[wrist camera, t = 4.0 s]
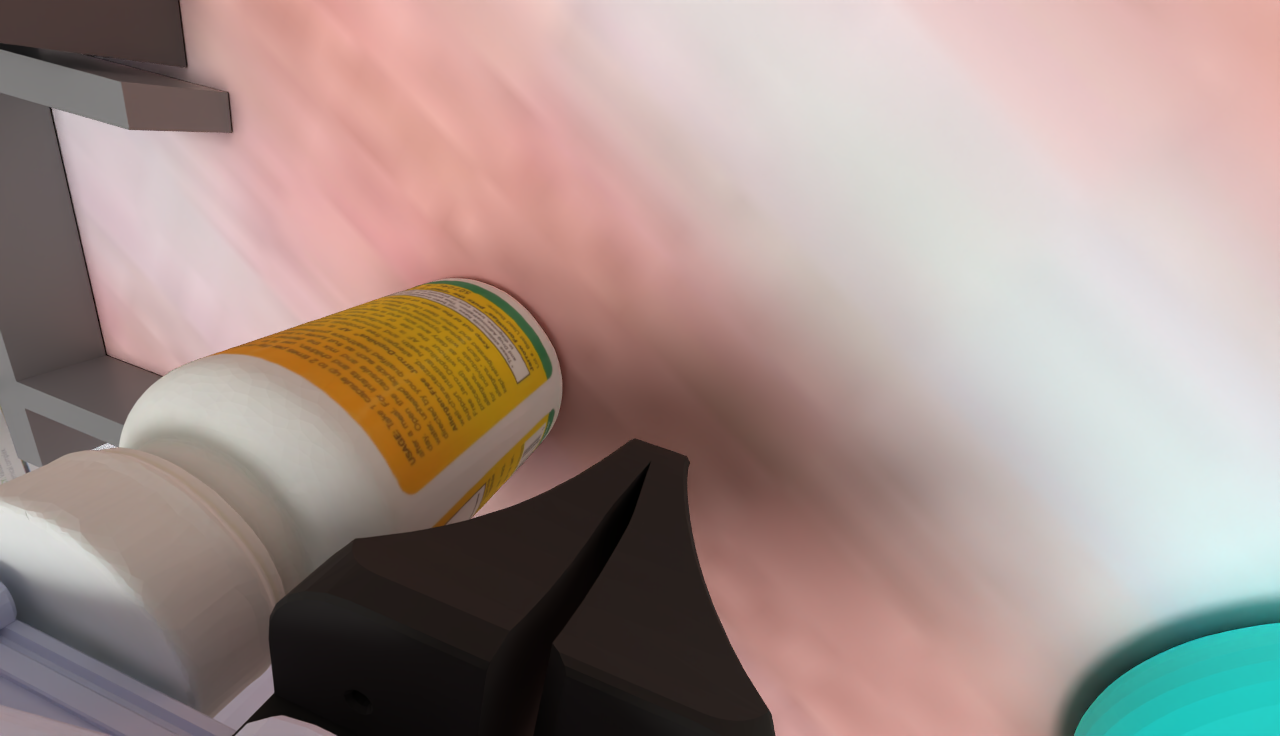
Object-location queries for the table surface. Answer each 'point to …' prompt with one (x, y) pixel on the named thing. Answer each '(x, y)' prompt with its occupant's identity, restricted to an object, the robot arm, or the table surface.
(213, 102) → the grey tray with block
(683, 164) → the table surface
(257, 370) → the supplement bottle
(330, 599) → the robot arm
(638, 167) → the table surface
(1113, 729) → the donuts
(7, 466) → the syrup box
